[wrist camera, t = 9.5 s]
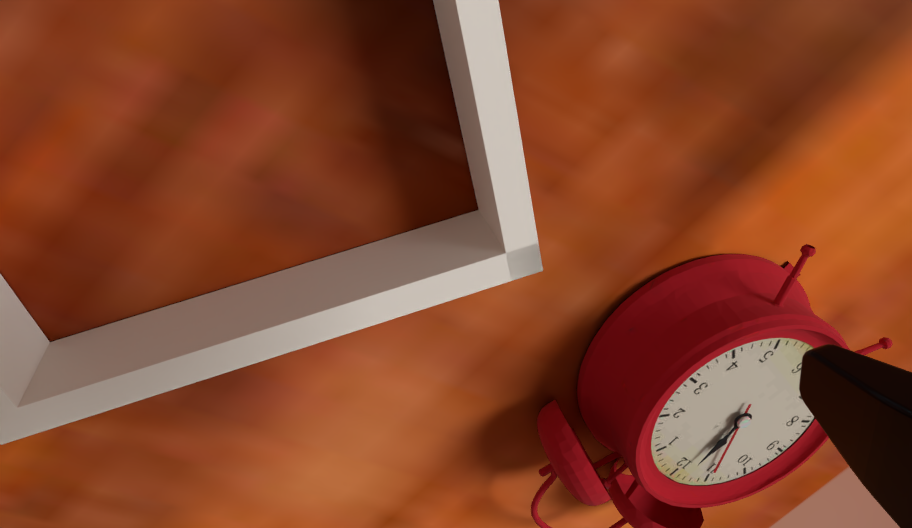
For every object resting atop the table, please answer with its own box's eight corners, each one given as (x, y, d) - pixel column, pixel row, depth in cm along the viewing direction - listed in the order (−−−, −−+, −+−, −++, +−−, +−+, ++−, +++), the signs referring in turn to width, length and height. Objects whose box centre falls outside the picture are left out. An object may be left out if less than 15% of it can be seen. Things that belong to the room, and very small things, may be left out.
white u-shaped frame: (35, 376, 20) (1, 444, 18) (-314, -79, 13) (-451, -71, 11) (512, 226, 22) (542, 270, 19) (421, -253, 15) (451, -282, 12)
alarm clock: (928, 360, 25) (698, 657, 26) (795, 302, 31) (607, 548, 31) (814, 219, 20) (530, 594, 21) (678, 179, 26) (456, 477, 26)
